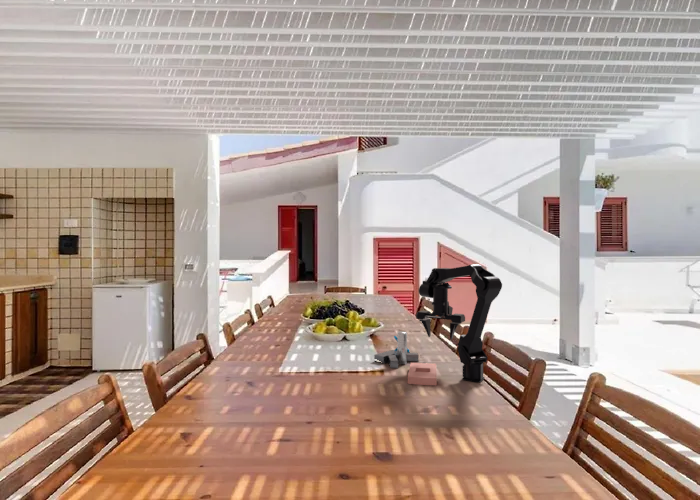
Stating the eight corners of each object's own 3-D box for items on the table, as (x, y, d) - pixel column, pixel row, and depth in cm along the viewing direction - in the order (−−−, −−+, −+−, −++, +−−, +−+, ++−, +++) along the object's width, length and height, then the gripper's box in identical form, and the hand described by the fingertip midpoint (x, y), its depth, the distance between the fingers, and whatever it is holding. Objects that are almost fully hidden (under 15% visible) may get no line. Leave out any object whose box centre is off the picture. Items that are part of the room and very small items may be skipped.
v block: (421, 360, 191) (421, 353, 191) (394, 369, 177) (394, 361, 177) (396, 355, 200) (396, 348, 200) (369, 363, 187) (369, 356, 187)
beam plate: (410, 368, 178) (410, 362, 178) (436, 370, 176) (436, 363, 176) (407, 383, 158) (407, 376, 158) (436, 385, 157) (436, 378, 157)
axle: (408, 364, 185) (408, 332, 185) (400, 365, 184) (400, 333, 184) (403, 361, 189) (403, 331, 189) (395, 362, 187) (395, 331, 187)
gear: (411, 351, 201) (395, 335, 202) (401, 360, 201) (386, 344, 202) (411, 349, 211) (396, 333, 213) (402, 358, 211) (387, 342, 213)
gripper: (469, 298, 181) (469, 337, 181) (426, 296, 191) (426, 332, 191) (460, 301, 172) (460, 342, 172) (415, 298, 182) (415, 336, 182)
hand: (440, 338), depth 179 cm, fingers open, 9 cm apart
